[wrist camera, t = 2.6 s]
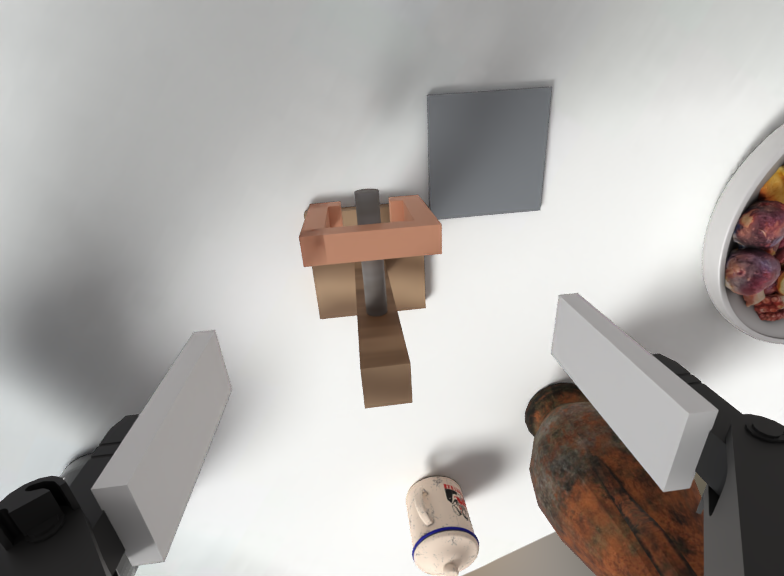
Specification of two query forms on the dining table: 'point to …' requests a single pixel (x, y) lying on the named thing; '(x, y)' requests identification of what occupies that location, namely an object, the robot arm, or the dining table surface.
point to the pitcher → (608, 494)
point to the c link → (369, 234)
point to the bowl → (750, 245)
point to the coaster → (487, 151)
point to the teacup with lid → (440, 527)
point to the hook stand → (374, 306)
